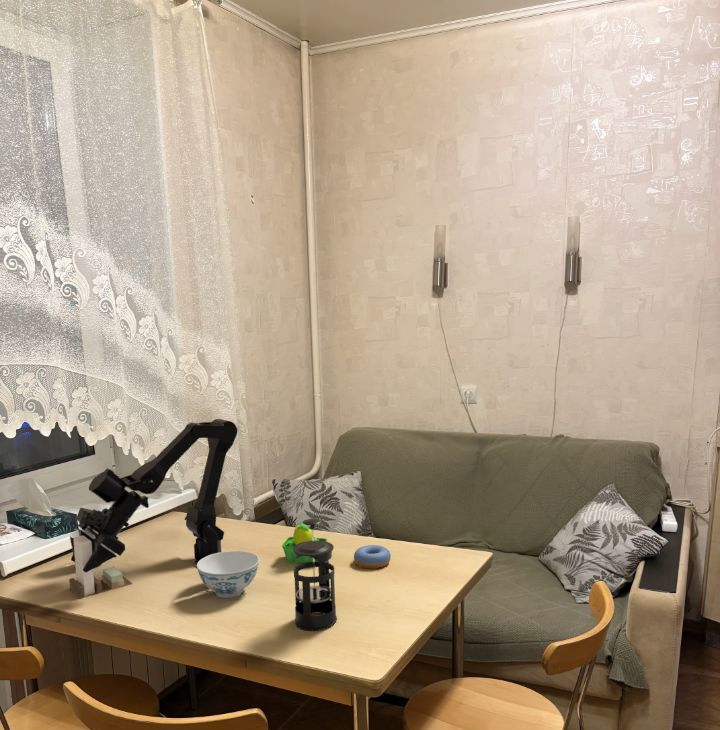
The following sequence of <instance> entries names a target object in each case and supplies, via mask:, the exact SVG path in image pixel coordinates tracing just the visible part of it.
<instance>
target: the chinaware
mask: <svg viewBox="0 0 720 730" xmlns="http://www.w3.org/2000/svg"><path fill="white" fill-rule="evenodd" d="M259 564H260V557H259V556H258V555H257V554H256V553H253V552H250V551H245V550H244V551H243V550H227V551H221V552H219V553H215V554H212V555H209V556H206V557H204V558H203V559H201V560H200V561H199V562H198V563H196V568H197V572H198V575H199V577H200V579H201V581H202V583H203V584H204V585H205V586H206V588H208V590H209V589H210V590H211V591H213V592H215V595H216V596H217V597H219V598H224V599H225V598H226V599H229V598H235V597H238V596H240V595H241V593H242V594H243V592H244V589H245V588H247V587H248V586H249V585H250V584H251V583H252V581H254V578H255V576H256V574H257V572H258V569H259Z"/></svg>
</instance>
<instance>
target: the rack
mask: <svg viewBox="0 0 720 730" xmlns="http://www.w3.org/2000/svg"><path fill="white" fill-rule="evenodd" d="M123 579H124V586H121V587H117V588H114V589H112V588H111V587H110V586H108V585H107V584H106V583H105V582H104V581H103V580H102V579H100V580H99V579H98V578H97V577H95V576H94V589H95V593H93V594H89V595H86V596H84V587H83V586H82V585H80V584H79V583H78V582H77V581H76V578H74V577H71V578H69V579H68V580H69V590H70V591H71V592H72V593H73V594H74V595H75V596H76V597H77V598H78V599H79V600H81V599H85V598H88V597H92V596H95V595H99V594H102V593H106V592H109V591H113V590H117V589H119V588H124V587H126V586H131V585H133V582H132V581H130V580H129V579H127V578H126V577H124V575H123Z"/></svg>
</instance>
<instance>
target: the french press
mask: <svg viewBox="0 0 720 730" xmlns="http://www.w3.org/2000/svg"><path fill="white" fill-rule="evenodd" d="M322 523H323V520H321V519H319V518H307V519H305V520H303V521H302V524H305V525H306V526H310V528H309V529H310V530H311V531H312V541H306V542H302V543H299V544H297V545H295V546H294V547H293V552H294V553H295V559H298V558H299V557H300V556H309V557H312V558H313V562H306V563H299V564H297V565H296V566H295V567H294V569H293V578H294V595H295V597H294V599H295V607H294V609H295V610H294V612H295V613H294V614H295V618H294V625H295V626H296V627H297V628H298V629H300V630H303V631H309V632H319V630H320V631H324V629H325V630H327V628H328V629H330V628H332V627H334V626H335V625H336V624H337V622H336V621H337V620H338V617H337V611H336V608H337V607H336V605H337V604H336V597H335V595H336V594H335V592H336V591H335V588H336V587H335V566H334V565H333V564H332V563H330V562H329V560H331V559H332V556H333V553H332V552H333V551H334V545H333V543H332V542H328V541H327V542H326V541H314V537H315V536H314V530H315V526H319V525H320V524H322ZM314 559H315V560H317V561H315V560H314ZM309 568H312V570H313V573H312V575H313V576H305V575H301V574H299V572H300V571H303V570H305V569H309ZM316 568H317V569H318V575H317V576H316ZM300 583H301V585H302V586H301V587H302V588H300ZM317 583H318V585H316V584H317ZM311 584H313V585H311ZM312 614H318V615H312ZM335 623H336V624H335ZM334 624H335V625H334ZM333 625H334V626H333ZM331 626H332V627H331ZM329 627H330V628H329Z"/></svg>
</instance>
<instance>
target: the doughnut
mask: <svg viewBox="0 0 720 730" xmlns="http://www.w3.org/2000/svg"><path fill="white" fill-rule="evenodd" d="M353 553H354V554H353V560H354V563H355V564H356V565H357V566H358V567H361V568H363V567H364V569H369V568H374V569H380V568H379V567H381V568H384V567H385V566H387V565H388V564H389V563H390V561H391V552H390V550H389V549H388V548H387V547H385V546H382V545H379V544H378V545H377V544H368V545H363V546H360V547H358V548H357V549H356V550H355V552H353ZM383 566H384V567H383Z"/></svg>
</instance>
